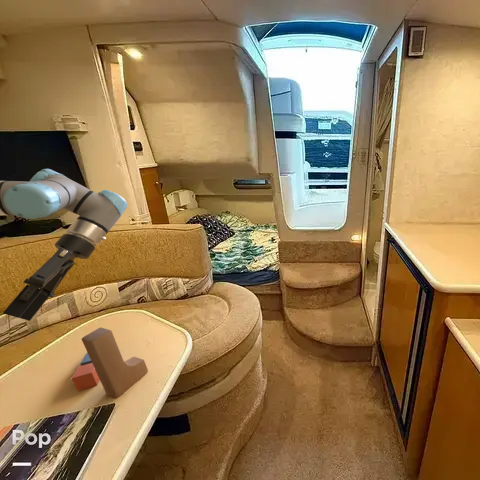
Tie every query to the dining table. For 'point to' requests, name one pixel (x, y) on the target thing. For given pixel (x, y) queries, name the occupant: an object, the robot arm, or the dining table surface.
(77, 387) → the cube row
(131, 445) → the dining table surface
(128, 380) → the wooden block
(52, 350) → the dining table surface
